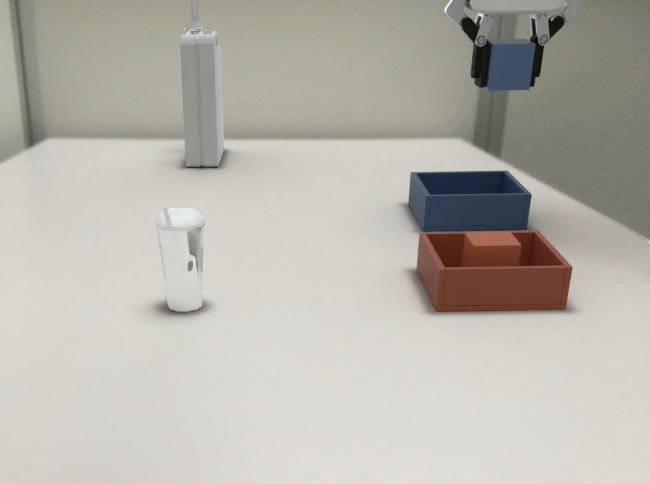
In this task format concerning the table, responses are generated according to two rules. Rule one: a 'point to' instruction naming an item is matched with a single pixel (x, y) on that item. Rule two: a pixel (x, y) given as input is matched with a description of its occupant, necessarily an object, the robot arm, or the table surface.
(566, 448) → the table surface
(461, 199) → the slate bin
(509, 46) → the slate block
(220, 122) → the jerry can
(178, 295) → the milkshake
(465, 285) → the terracotta bin
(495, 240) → the terracotta block
